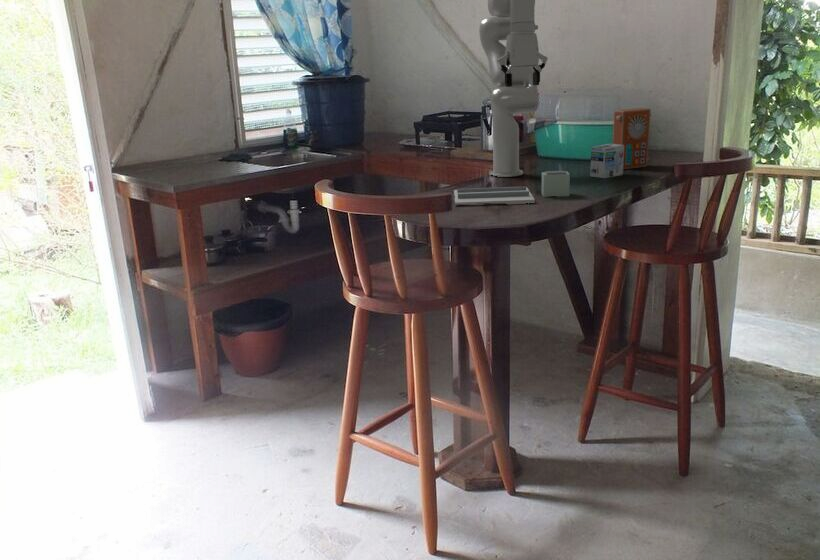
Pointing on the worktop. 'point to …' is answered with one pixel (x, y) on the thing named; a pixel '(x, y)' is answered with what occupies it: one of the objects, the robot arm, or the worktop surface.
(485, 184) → the worktop surface
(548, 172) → the block
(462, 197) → the rail plate
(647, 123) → the control panel
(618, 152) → the light bulb box
